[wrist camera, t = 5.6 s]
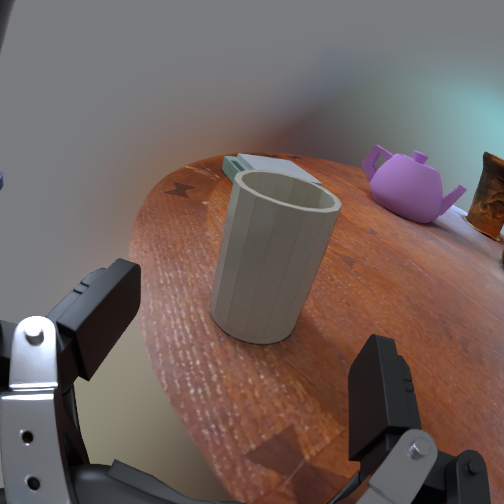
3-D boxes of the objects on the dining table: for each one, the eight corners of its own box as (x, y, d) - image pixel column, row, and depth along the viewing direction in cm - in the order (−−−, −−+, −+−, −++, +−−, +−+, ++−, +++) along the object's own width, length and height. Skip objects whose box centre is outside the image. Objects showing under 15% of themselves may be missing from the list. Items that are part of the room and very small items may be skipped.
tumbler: (222, 348, 18) (257, 206, 13) (201, 286, 22) (223, 165, 18) (309, 338, 20) (362, 216, 16) (276, 284, 25) (309, 176, 20)
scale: (243, 197, 40) (248, 174, 38) (221, 169, 49) (225, 151, 48) (320, 205, 44) (326, 185, 43) (286, 177, 54) (291, 160, 52)
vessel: (467, 227, 62) (496, 153, 52) (454, 211, 74) (478, 148, 64) (507, 248, 58) (536, 179, 49) (491, 230, 70) (515, 170, 61)
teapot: (342, 191, 55) (361, 130, 49) (363, 182, 67) (379, 134, 61) (448, 243, 46) (475, 180, 40) (448, 223, 58) (468, 174, 52)
